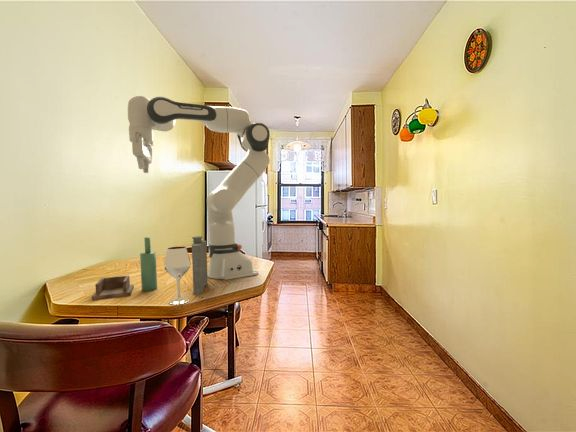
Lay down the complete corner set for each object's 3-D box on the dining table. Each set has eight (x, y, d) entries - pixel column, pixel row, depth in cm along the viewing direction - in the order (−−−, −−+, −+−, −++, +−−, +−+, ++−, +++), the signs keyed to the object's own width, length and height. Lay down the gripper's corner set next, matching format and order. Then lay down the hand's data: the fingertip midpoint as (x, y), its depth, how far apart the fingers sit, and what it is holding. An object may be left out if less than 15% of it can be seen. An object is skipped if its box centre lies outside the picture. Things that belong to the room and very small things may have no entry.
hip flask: (201, 294, 111) (199, 238, 110) (190, 294, 110) (188, 238, 110) (208, 283, 127) (206, 234, 126) (198, 283, 126) (196, 234, 125)
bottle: (157, 286, 123) (155, 236, 122) (157, 290, 118) (154, 237, 117) (142, 288, 121) (139, 237, 120) (141, 291, 116) (138, 238, 115)
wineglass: (183, 306, 98) (181, 249, 97) (160, 305, 99) (158, 249, 99) (196, 298, 106) (194, 246, 105) (174, 297, 107) (172, 246, 107)
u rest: (133, 287, 123) (133, 274, 123) (130, 295, 112) (129, 281, 112) (98, 291, 119) (98, 277, 118) (91, 299, 107) (91, 285, 107)
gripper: (144, 129, 118) (147, 166, 117) (153, 143, 137) (156, 174, 137) (126, 129, 116) (129, 166, 116) (138, 143, 136) (140, 175, 136)
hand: (143, 170), depth 127 cm, fingers open, 8 cm apart
